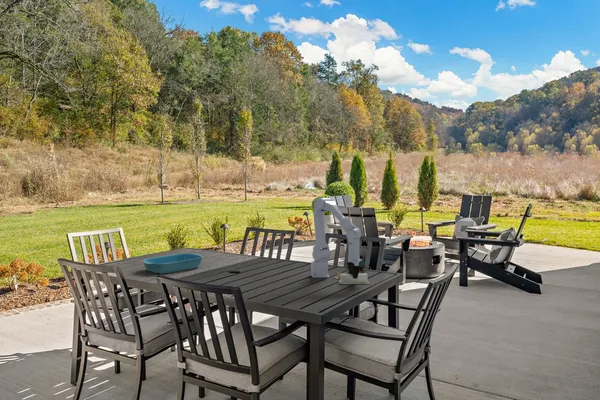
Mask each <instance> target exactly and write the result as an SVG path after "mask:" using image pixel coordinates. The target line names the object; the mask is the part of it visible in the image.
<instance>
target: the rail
mask: <svg viewBox="0 0 600 400" xmlns="http://www.w3.org/2000/svg"><path fill="white" fill-rule="evenodd" d="M368 275H369V274H368V273H365V272H364V273H361V274H358V278H357V279H353V275H352V274H350V273H341V274H340V279H339V281H340V282H369V281H368V278H369V277H368Z"/></svg>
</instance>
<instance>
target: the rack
mask: <svg viewBox="0 0 600 400" xmlns="http://www.w3.org/2000/svg"><path fill="white" fill-rule="evenodd" d="M340 274H342V272H340V271H339V272H337V276H334V278H335V280H340ZM359 274H362V273H361V272H359Z"/></svg>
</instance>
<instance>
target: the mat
mask: <svg viewBox="0 0 600 400" xmlns="http://www.w3.org/2000/svg"><path fill="white" fill-rule="evenodd" d="M338 282H339V284H340V285H362V284H363V285H365V284H366V285H369V284H370V282H369V281H368V282H340V280H338Z"/></svg>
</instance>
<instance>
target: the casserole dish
mask: <svg viewBox="0 0 600 400" xmlns="http://www.w3.org/2000/svg"><path fill="white" fill-rule="evenodd" d="M202 259H203V255H201V254H199V253H188V252H187V253H176V254H169V255H162V256H154V257H149V258H144V259H142V261H143V265H144V268H145V269H146V270H147V271H148V272H150V271H151V272H150V273H153V272H154V273H153V274H157V273H160V275H163V274H171V273H177V272H183V271H188V270H193V269H196V268H198V267H199V266H200V265H201V263H202Z"/></svg>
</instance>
